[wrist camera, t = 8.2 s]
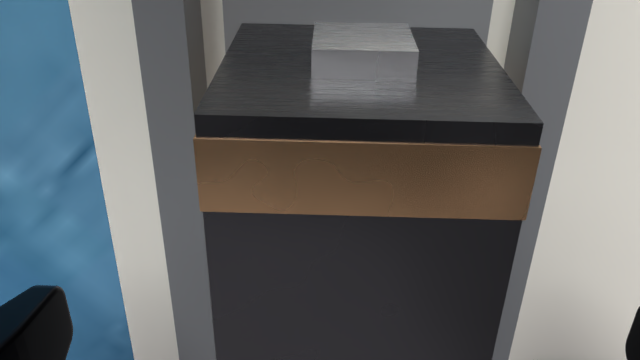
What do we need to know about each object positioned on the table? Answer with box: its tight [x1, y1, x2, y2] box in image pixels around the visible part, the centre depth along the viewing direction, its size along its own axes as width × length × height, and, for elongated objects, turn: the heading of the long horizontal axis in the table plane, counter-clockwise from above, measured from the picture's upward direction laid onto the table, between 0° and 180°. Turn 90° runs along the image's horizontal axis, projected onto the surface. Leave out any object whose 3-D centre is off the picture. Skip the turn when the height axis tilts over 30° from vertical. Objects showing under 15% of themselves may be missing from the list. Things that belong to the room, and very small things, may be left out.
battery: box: [193, 21, 544, 360], centre depth 10 cm, size 8×4×4 cm, turn 179°
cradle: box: [68, 0, 640, 360], centre depth 12 cm, size 14×18×4 cm
